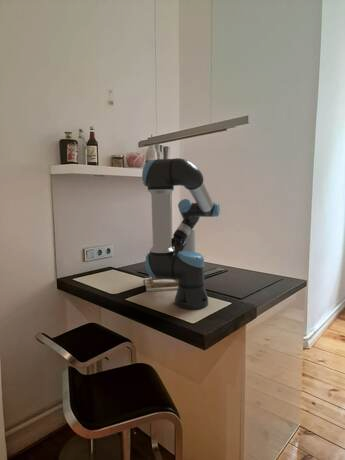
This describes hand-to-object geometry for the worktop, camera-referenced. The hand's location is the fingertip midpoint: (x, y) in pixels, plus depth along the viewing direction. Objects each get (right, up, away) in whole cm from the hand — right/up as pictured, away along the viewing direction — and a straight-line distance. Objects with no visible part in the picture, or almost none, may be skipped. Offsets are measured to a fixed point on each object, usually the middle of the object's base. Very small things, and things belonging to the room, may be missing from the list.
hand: (160, 265), depth 167 cm
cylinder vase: (+15, -7, +39) cm, 42 cm away
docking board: (+2, -11, +3) cm, 12 cm away
